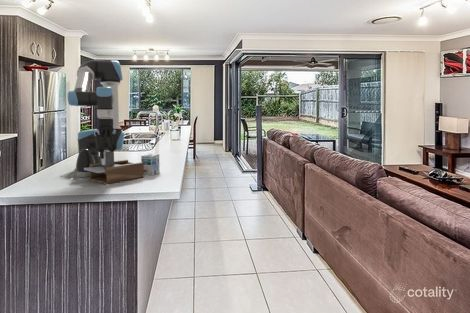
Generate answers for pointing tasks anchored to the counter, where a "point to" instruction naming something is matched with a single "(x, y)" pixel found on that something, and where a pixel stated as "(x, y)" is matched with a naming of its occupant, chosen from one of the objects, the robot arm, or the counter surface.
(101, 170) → the cover plate
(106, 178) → the walnut box
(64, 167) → the counter surface
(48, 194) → the counter surface
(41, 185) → the counter surface
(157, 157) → the light bulb box
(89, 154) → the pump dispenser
